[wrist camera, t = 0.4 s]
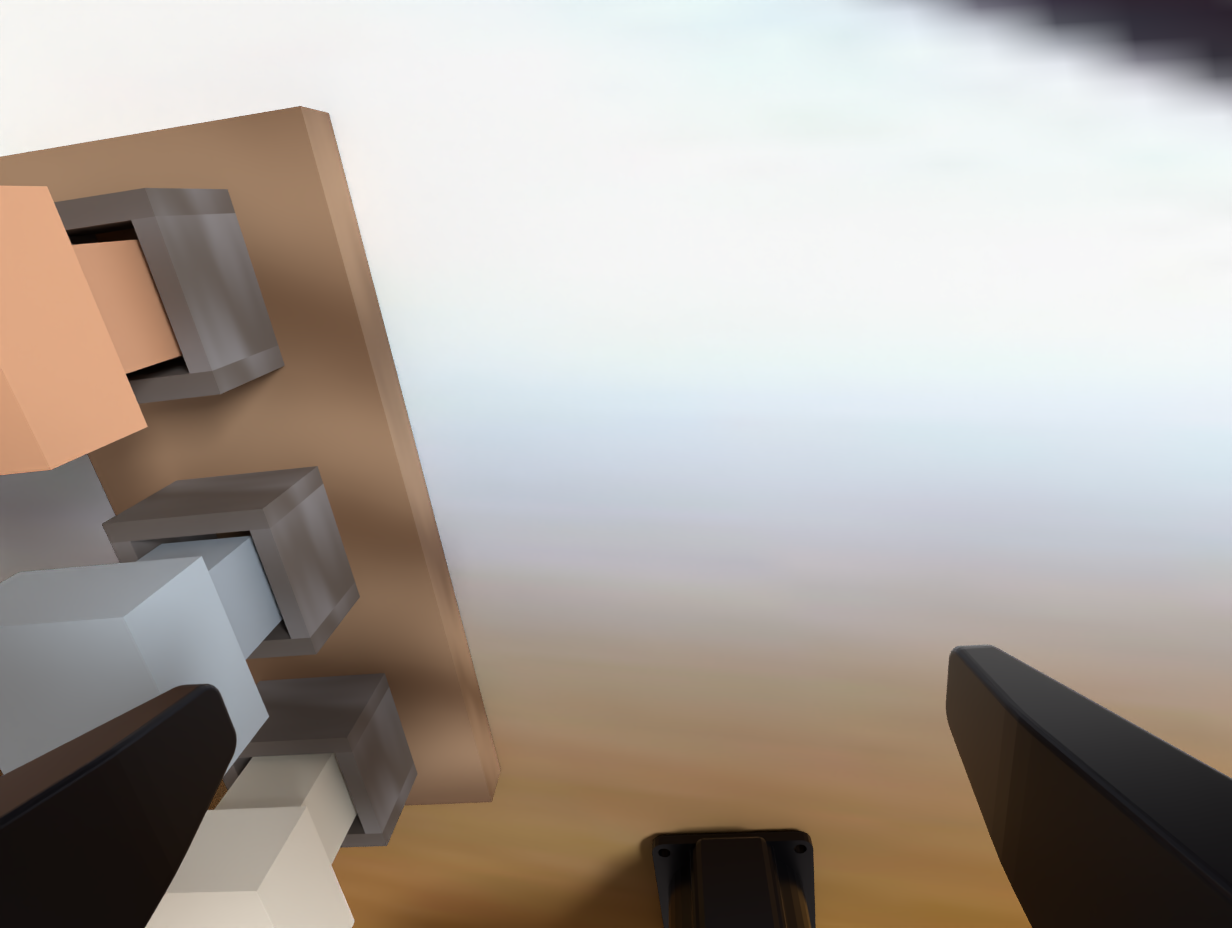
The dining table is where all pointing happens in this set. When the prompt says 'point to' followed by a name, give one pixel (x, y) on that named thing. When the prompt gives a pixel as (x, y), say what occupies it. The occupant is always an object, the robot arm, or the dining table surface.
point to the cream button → (267, 851)
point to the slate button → (130, 641)
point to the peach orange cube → (70, 336)
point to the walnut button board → (286, 445)
